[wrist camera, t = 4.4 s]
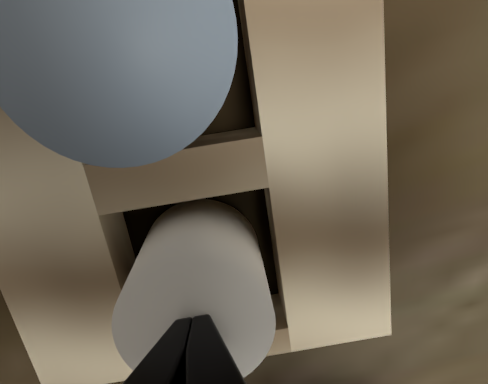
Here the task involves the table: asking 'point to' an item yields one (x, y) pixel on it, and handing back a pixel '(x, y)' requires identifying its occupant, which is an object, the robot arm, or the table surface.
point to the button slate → (116, 74)
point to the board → (215, 184)
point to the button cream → (197, 283)
